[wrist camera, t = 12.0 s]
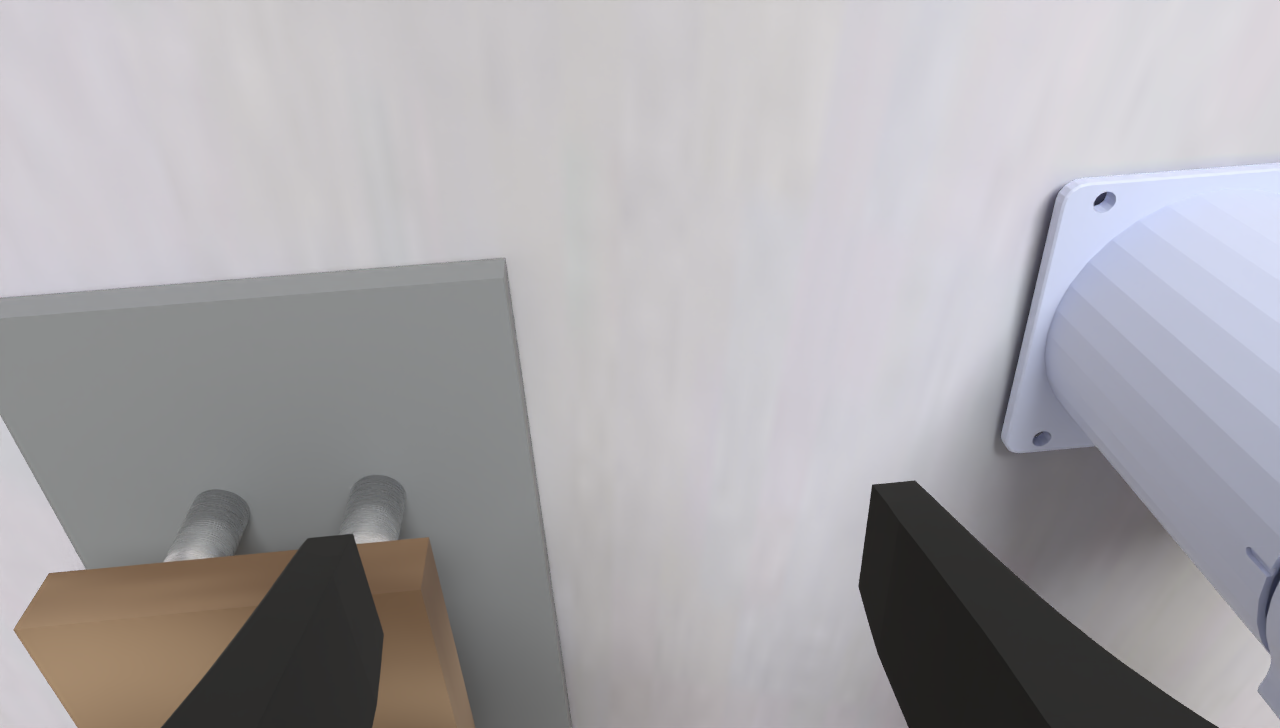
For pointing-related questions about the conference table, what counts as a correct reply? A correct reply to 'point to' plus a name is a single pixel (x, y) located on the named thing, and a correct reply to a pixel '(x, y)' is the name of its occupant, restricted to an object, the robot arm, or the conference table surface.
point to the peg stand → (303, 439)
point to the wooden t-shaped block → (228, 634)
